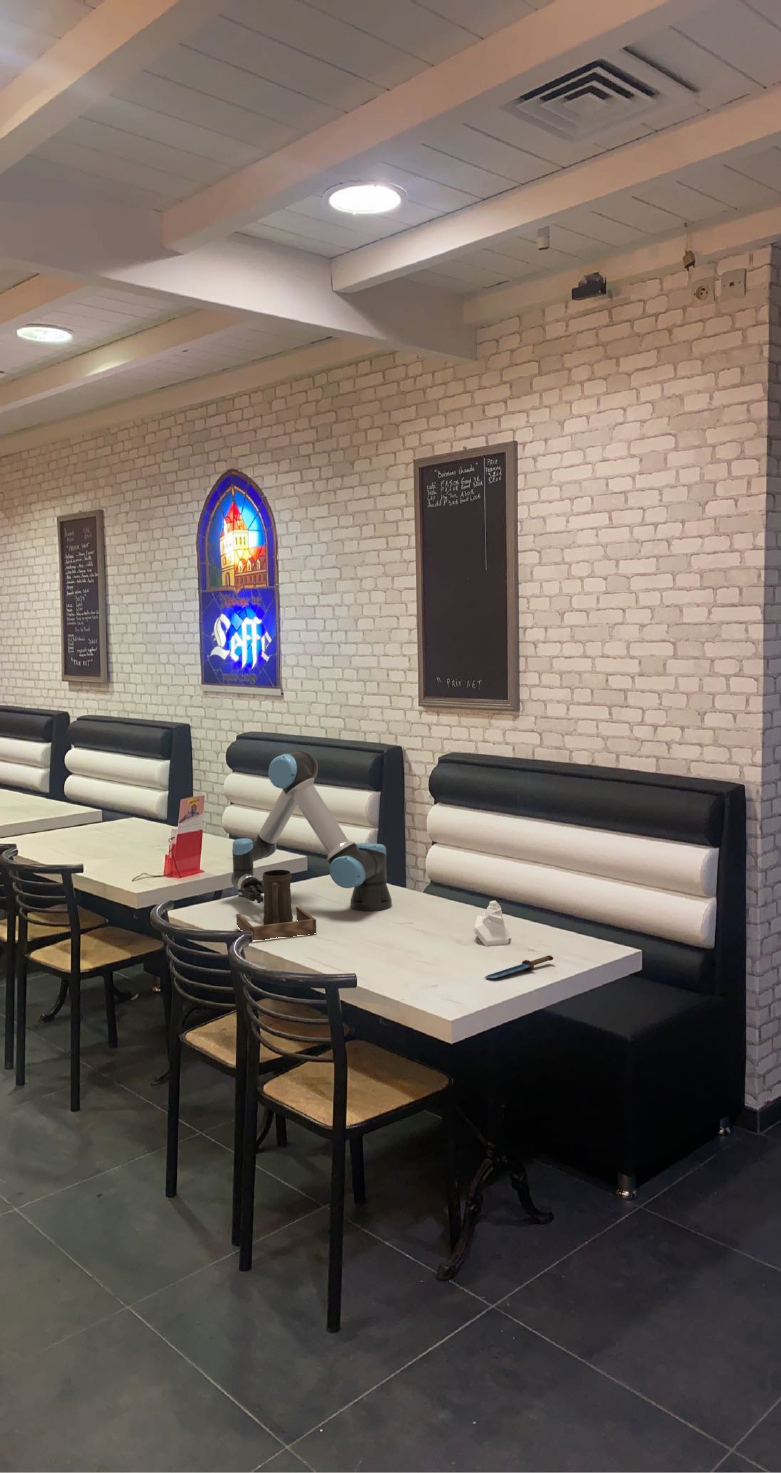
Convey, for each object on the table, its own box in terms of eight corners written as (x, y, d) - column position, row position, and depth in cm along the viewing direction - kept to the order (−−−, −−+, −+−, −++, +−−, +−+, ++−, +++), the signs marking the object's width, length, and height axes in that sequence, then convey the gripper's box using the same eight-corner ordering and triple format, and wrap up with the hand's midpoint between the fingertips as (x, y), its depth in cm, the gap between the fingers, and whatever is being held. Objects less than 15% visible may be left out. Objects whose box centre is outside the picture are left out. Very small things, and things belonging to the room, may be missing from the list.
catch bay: (299, 920, 360) (299, 906, 360) (316, 934, 343) (316, 919, 343) (236, 928, 352) (236, 914, 351) (250, 942, 335) (250, 927, 334)
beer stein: (261, 923, 357) (260, 869, 354) (292, 921, 359) (290, 867, 356) (264, 939, 342) (263, 882, 339) (296, 936, 344) (295, 880, 341)
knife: (493, 973, 292) (482, 971, 297) (494, 984, 292) (483, 982, 297) (556, 953, 306) (545, 951, 310) (558, 963, 306) (547, 961, 310)
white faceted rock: (510, 938, 341) (520, 899, 337) (504, 955, 326) (515, 914, 323) (474, 927, 343) (484, 888, 340) (466, 943, 329) (476, 903, 326)
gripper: (267, 894, 380) (286, 910, 358) (233, 898, 375) (249, 914, 353) (267, 874, 379) (285, 888, 357) (232, 878, 374) (248, 892, 352)
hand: (267, 901), depth 355 cm, fingers closed
